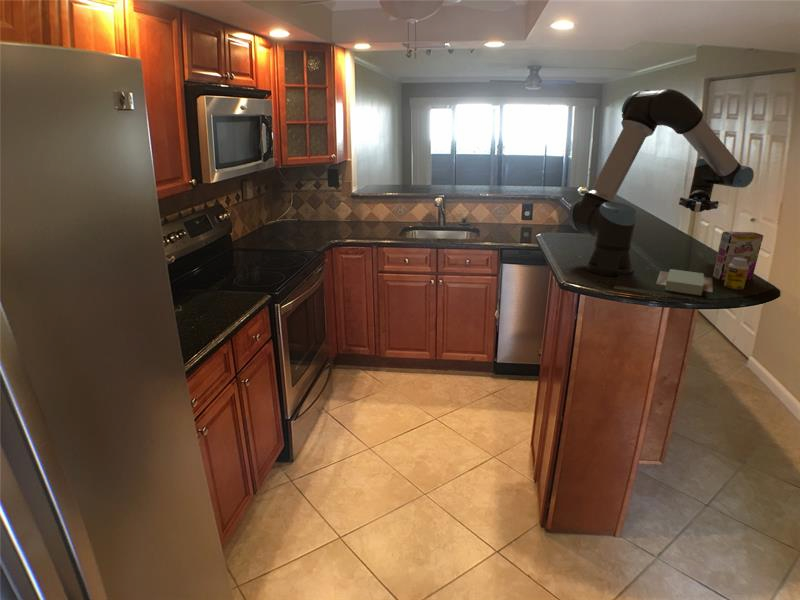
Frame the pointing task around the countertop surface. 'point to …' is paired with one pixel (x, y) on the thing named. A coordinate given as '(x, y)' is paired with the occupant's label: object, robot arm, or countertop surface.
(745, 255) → the candy bar box
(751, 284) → the countertop surface
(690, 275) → the pale green rectangular block
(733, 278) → the supplement bottle
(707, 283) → the board
